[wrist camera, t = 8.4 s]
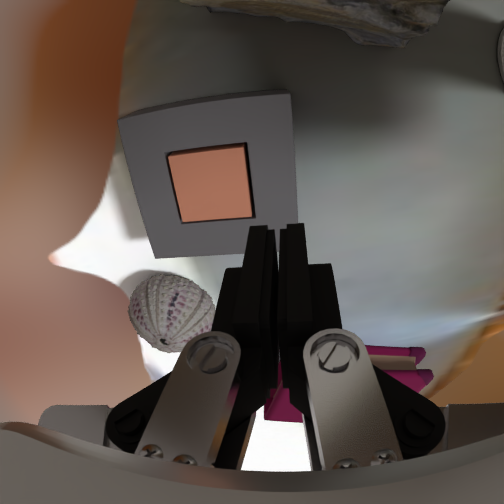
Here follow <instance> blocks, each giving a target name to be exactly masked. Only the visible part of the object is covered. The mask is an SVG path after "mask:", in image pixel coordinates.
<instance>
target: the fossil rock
mask: <svg viewBox="0 0 504 504" xmlns="http://www.w3.org/2000/svg"><path fill="white" fill-rule="evenodd" d="M179 1H180V2H181V3H186V4H189V5H191V6H193V7H199V6H208V7H207V8H208V10H209V11H210V13H211V12H233V13H244V14H250V15H253V16H259V17H264V16H274V17H279V18H281V19H282V20H284V21H285V22H307V23H315V24H322V25H327V26H330V27H334V28H337V29H340V30H341V31H344V32H345V33H346V34H347V35H348V36H349V37H350V38H351V39H352V40H353V41H354V42H355V43H357V44H360V45H375V46H387V47H392V48H393V47H398V48H405V46H406V44H407V43H408V42H409V40H410V39H412V38H413V37H417V36H424V35H426V34H427V32H428V31H429V27H430V25H432V26H437V24H438V21H439V16H440V15H441V13H442V12H443V8H444V7H445V5H446V4H447V3H448V1H450V0H179Z"/></svg>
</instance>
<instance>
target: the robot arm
mask: <svg viewBox="0 0 504 504" xmlns="http://www.w3.org/2000/svg"><path fill="white" fill-rule="evenodd" d="M498 63H499V68H500V73H501V76H502V79H503V82H504V28H503V30H502V32H501V34H500V37H499V41H498ZM279 349H280V360H281V372H282V383H283V389H288V388H289V399H290V404H292V405H293V406H294V407H295V408H296V409H298V410H299V411H300V412H301V413H302V418H303V424H304V430H305V436H306V442H307V448H308V454H309V460H310V466H311V471H301V472H267V471H244V470H241V467H242V464H243V460H244V457H245V453H246V450H247V446H248V443H249V439H250V436H251V432H252V428H253V425H254V421H255V417H256V411H257V410H258V409H259V408H261V407H262V406H263V405H264V404H266V400H267V399H270V390H271V389H277V386H278V365H279ZM0 504H504V403H485V404H448V405H447V406H446V407H438V406H436V405H435V404H434V403H433V402H432V401H430V400H428V399H427V398H425V397H424V396H422V395H420V394H419V393H417V392H416V391H414V390H412V389H411V388H409V387H408V386H406V385H404V384H403V383H401V382H400V381H398V380H397V379H395V378H393V377H392V376H390V375H389V374H387V373H386V372H384V371H383V370H381V369H379V368H378V367H376V366H375V365H373V364H372V363H371V360H370V358H369V355H368V352H367V350H366V347H365V345H364V343H363V342H362V340H361V339H360V338H359V337H358V336H357V335H355V334H354V333H352V332H350V331H347V330H344V329H342V323H341V317H340V310H339V304H338V298H337V292H336V286H335V281H334V275H333V270H332V265H331V263H328V264H308V258H307V248H306V238H305V228H304V223H295V224H287V229H280V243H279V271H278V260H277V249H276V238H275V230H274V229H268V225H258V226H250V227H249V232H248V238H247V243H246V249H245V254H244V260H243V266H242V267H238V268H227V269H226V270H225V273H224V277H223V282H222V286H221V290H220V294H219V298H218V302H217V306H216V311H215V315H214V319H213V323H212V328H211V331H210V332H206V333H201V334H199V335H197V336H195V337H193V338H192V339H191V340H190V341H189V342H187V344H186V345H185V346H184V348H183V349H182V351H181V354H180V356H179V358H178V360H177V362H176V364H175V366H174V368H173V371H171V372H170V373H168V374H167V375H165V376H163V377H162V378H160V379H159V380H157V381H155V382H154V383H152V384H151V385H149V386H147V387H146V388H144V389H142V390H141V391H139V392H137V393H136V394H134V395H133V396H131V397H129V398H127V399H126V400H124V401H122V402H121V403H119V404H118V405H117V406H115V407H114V408H109V407H108V406H107V405H55V406H51V407H49V408H47V409H46V410H45V411H44V412H43V414H42V415H41V417H40V420H39V423H38V425H34V424H29V423H23V422H4V423H0Z"/></svg>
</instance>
